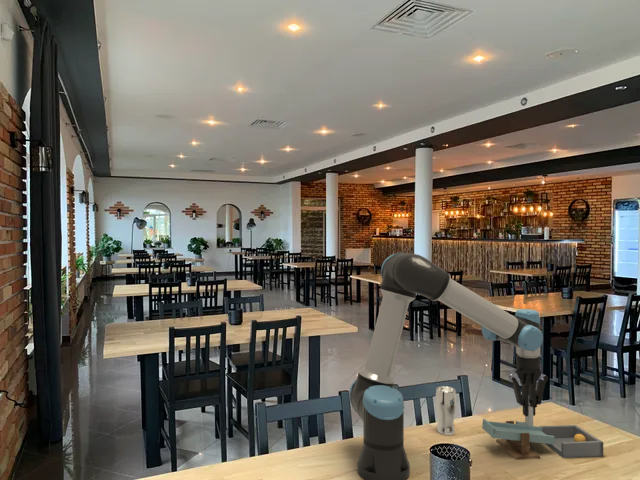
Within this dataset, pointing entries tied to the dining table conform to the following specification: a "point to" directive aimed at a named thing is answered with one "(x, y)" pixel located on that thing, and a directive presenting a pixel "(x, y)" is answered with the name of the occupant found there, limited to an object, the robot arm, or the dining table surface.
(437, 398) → the beer glass
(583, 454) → the grey shallow open box
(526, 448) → the fulcrum
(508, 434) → the lever
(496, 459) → the dining table surface
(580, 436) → the ball
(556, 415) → the dining table surface
